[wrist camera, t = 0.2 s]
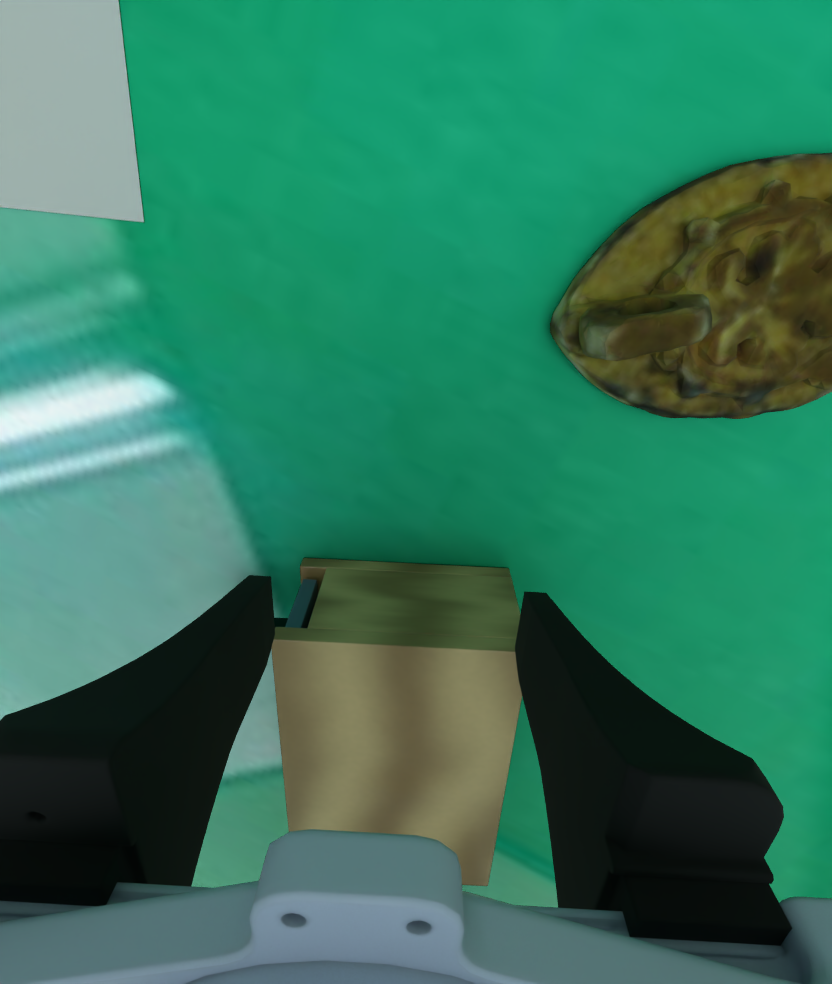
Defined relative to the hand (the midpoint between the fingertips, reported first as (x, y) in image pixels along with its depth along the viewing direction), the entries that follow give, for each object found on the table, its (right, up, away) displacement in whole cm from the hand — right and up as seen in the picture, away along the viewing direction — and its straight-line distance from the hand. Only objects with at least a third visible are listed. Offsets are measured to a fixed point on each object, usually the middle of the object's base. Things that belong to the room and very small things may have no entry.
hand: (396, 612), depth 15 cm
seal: (+13, +11, +6) cm, 18 cm away
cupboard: (0, -7, +15) cm, 16 cm away
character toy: (-16, +20, +2) cm, 26 cm away
